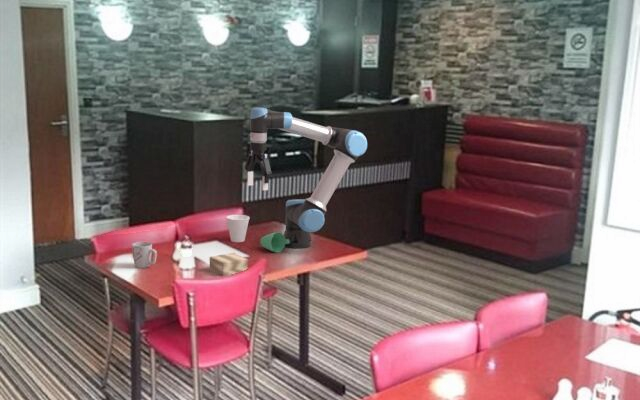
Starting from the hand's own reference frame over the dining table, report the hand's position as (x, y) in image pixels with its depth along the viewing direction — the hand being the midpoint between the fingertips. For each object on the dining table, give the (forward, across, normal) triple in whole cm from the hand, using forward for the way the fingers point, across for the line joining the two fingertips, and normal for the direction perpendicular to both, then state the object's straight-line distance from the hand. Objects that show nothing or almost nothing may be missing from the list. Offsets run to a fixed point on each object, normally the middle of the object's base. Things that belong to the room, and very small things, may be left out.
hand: (257, 187), depth 316 cm
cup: (+33, -29, +6) cm, 44 cm away
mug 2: (+30, -11, +12) cm, 34 cm away
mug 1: (+33, -9, -51) cm, 61 cm away
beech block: (+33, +14, -22) cm, 42 cm away
